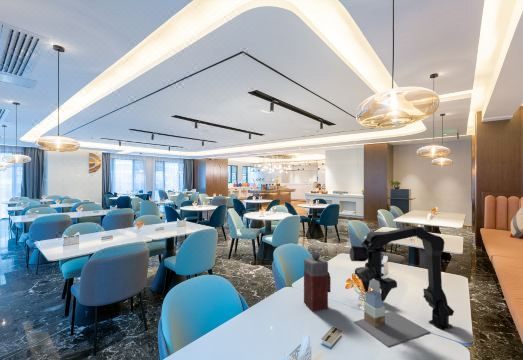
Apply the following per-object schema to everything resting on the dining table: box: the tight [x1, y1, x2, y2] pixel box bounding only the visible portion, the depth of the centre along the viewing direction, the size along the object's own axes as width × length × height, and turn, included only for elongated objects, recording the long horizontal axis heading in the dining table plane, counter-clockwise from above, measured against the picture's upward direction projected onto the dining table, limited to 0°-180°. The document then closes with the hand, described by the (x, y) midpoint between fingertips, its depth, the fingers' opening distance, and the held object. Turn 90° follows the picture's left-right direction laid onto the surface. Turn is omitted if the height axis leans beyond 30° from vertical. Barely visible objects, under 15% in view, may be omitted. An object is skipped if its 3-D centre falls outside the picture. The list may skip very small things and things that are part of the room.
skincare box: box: [369, 279, 381, 293], centre depth 133 cm, size 6×4×12 cm
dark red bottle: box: [303, 249, 332, 312], centre depth 128 cm, size 9×11×28 cm
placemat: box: [353, 310, 431, 348], centre depth 109 cm, size 24×18×1 cm
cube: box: [365, 290, 384, 308], centre depth 112 cm, size 5×5×5 cm
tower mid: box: [363, 301, 386, 318], centre depth 112 cm, size 6×6×4 cm
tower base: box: [363, 311, 385, 327], centre depth 113 cm, size 6×6×4 cm
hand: (374, 296), depth 112 cm, fingers open, 9 cm apart
